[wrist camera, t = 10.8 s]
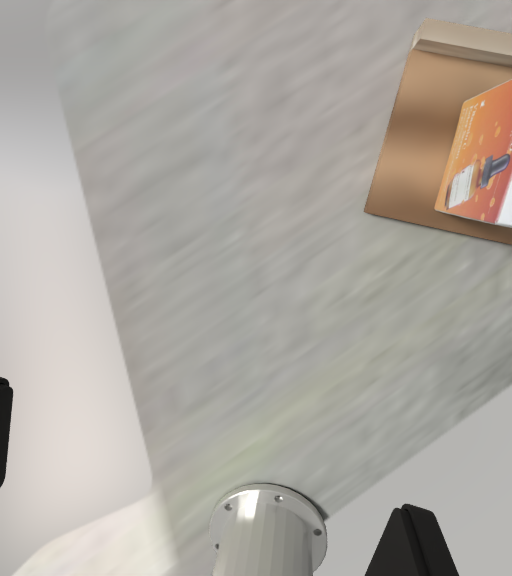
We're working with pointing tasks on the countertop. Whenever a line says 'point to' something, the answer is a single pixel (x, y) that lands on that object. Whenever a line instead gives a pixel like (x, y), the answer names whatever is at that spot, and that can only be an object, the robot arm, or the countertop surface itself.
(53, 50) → the countertop surface
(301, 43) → the countertop surface
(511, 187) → the small box
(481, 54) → the shelf board
